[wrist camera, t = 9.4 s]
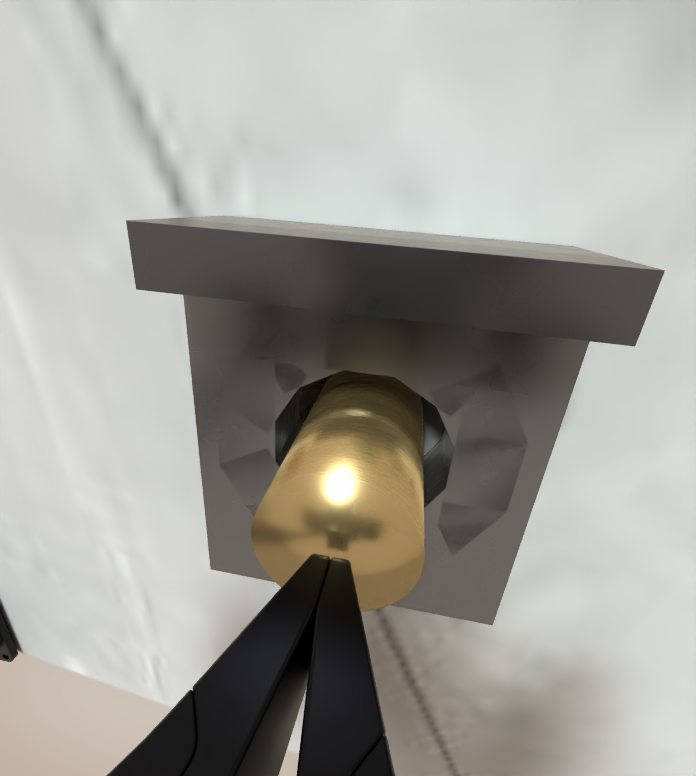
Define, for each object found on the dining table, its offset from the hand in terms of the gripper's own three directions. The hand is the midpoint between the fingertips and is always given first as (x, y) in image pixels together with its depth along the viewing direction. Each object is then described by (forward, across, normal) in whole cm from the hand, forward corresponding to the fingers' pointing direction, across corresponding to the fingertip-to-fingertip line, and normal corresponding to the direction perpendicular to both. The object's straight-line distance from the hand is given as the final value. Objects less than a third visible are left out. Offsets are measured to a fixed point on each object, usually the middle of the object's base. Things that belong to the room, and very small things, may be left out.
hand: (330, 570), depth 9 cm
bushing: (+8, 0, 0) cm, 8 cm away
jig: (+8, 0, 0) cm, 8 cm away
